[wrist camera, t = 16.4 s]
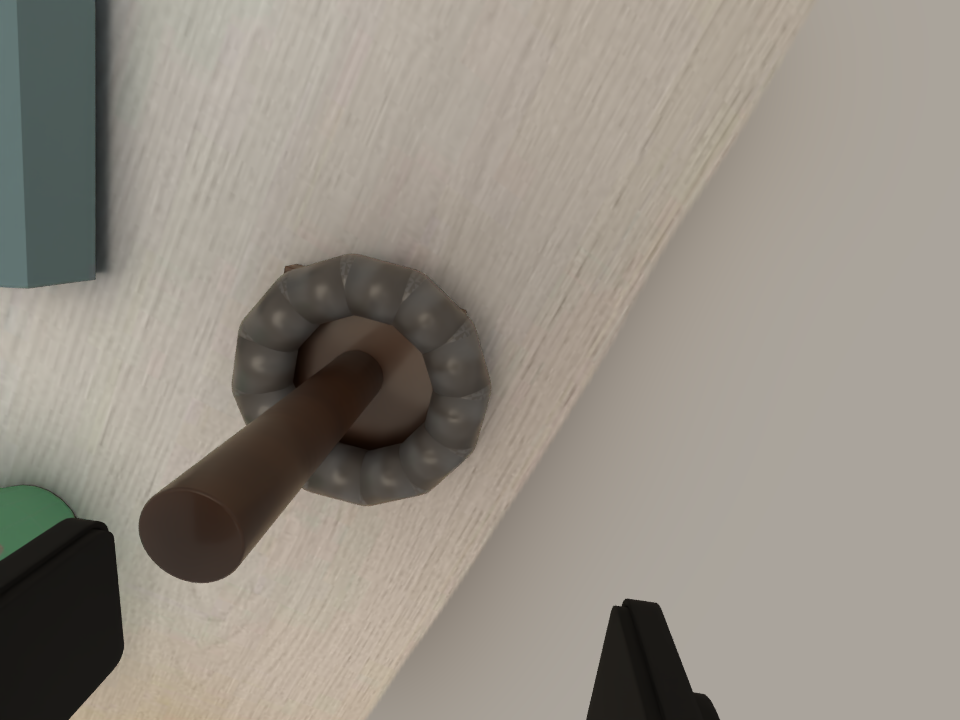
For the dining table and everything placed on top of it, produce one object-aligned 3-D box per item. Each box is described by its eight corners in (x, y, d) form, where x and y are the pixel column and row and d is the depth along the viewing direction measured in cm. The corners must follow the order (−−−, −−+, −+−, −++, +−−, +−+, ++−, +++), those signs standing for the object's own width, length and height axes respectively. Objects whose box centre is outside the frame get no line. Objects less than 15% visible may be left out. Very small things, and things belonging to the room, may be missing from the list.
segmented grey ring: (269, 226, 21) (239, 226, 19) (517, 294, 21) (518, 302, 19) (238, 452, 24) (209, 476, 22) (456, 510, 24) (450, 541, 22)
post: (295, 263, 22) (12, 315, 10) (467, 310, 22) (406, 422, 10) (271, 421, 25) (12, 633, 12) (427, 464, 25) (335, 719, 12)
